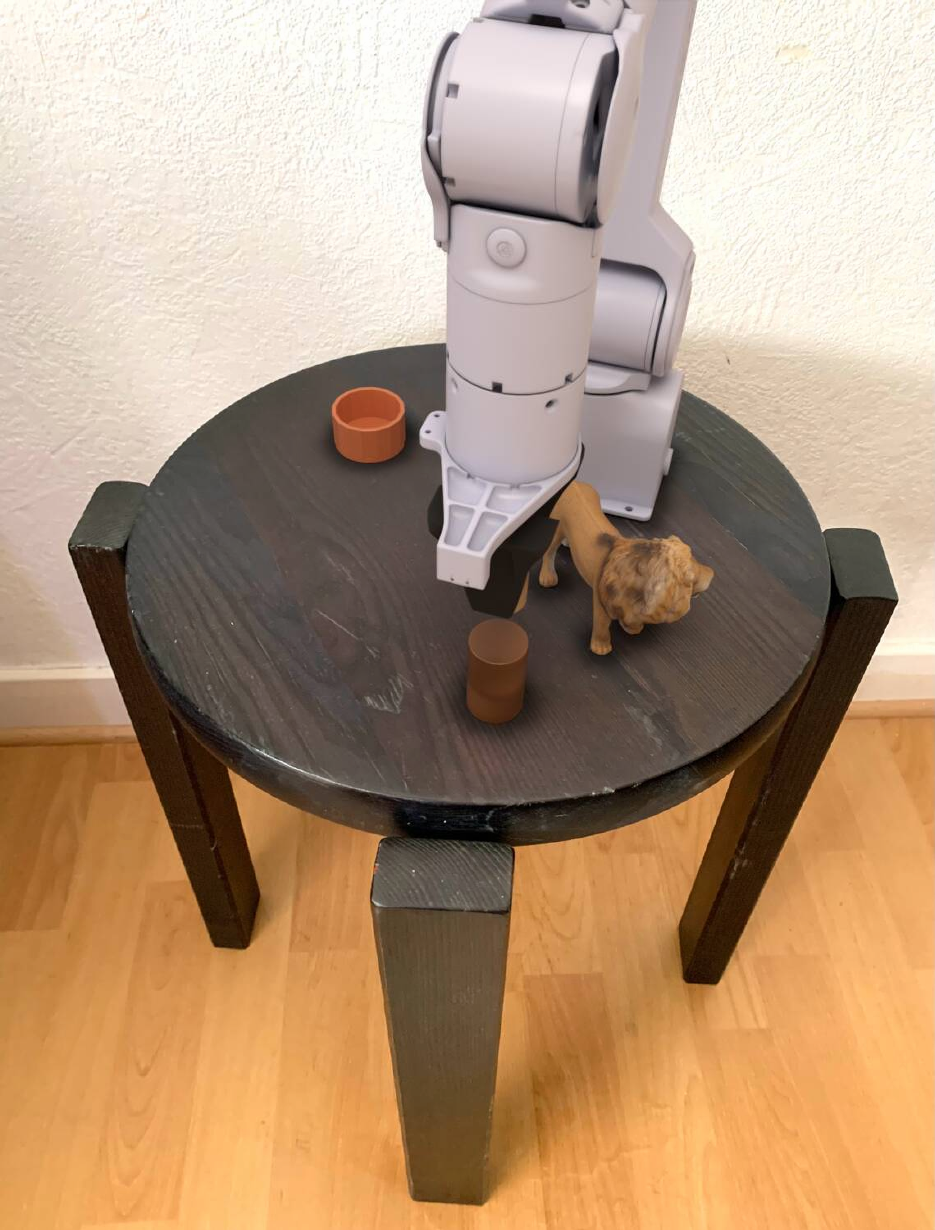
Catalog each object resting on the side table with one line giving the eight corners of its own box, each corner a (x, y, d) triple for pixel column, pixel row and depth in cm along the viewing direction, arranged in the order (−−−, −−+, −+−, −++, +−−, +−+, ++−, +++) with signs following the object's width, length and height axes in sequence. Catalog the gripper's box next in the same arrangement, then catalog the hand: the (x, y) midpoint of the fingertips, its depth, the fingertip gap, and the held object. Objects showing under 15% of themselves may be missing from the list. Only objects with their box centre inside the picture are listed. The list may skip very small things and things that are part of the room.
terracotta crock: (415, 427, 75) (414, 395, 73) (391, 469, 72) (389, 437, 70) (350, 413, 76) (348, 381, 74) (323, 454, 73) (320, 422, 71)
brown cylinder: (529, 687, 59) (535, 626, 56) (514, 730, 57) (519, 670, 54) (475, 673, 60) (478, 612, 56) (458, 715, 58) (460, 655, 54)
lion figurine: (703, 661, 61) (736, 550, 54) (633, 700, 59) (658, 590, 52) (553, 516, 69) (566, 405, 62) (487, 546, 67) (493, 434, 60)
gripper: (475, 250, 47) (468, 479, 57) (357, 440, 38) (374, 674, 48) (628, 277, 46) (593, 507, 56) (545, 481, 37) (522, 713, 47)
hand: (501, 586), depth 52 cm, fingers closed on pepper mill, 2 cm apart
